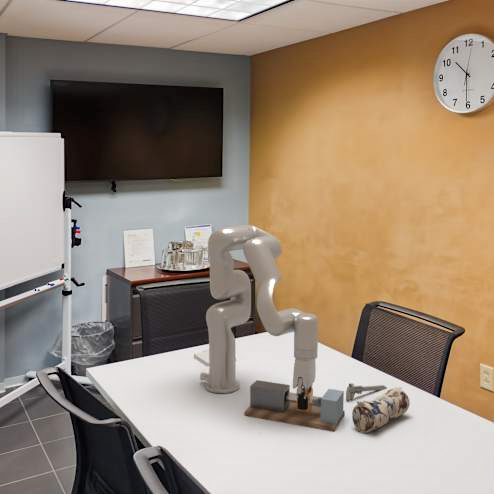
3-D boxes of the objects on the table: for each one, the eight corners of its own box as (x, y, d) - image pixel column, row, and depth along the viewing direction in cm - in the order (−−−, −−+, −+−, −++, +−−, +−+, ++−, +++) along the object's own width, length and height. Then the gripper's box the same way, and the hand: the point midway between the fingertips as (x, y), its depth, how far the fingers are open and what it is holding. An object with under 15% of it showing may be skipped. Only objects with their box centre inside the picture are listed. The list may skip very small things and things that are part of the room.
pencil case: (372, 437, 189) (373, 407, 187) (349, 429, 195) (350, 399, 193) (411, 416, 204) (412, 387, 202) (388, 408, 210) (389, 381, 208)
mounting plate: (239, 364, 254) (239, 359, 254) (210, 369, 248) (210, 364, 248) (218, 351, 270) (218, 347, 269) (191, 356, 263) (191, 352, 263)
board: (244, 415, 204) (244, 411, 204) (259, 401, 216) (259, 396, 215) (334, 431, 192) (334, 426, 192) (344, 415, 204) (344, 410, 204)
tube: (265, 404, 205) (265, 387, 204) (269, 399, 209) (269, 382, 208) (319, 413, 198) (319, 395, 197) (323, 408, 202) (323, 390, 201)
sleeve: (250, 407, 207) (250, 386, 206) (256, 400, 212) (256, 380, 211) (283, 413, 202) (283, 391, 201) (289, 406, 208) (289, 385, 206)
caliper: (348, 402, 215) (348, 385, 214) (345, 401, 216) (346, 384, 215) (387, 388, 228) (387, 372, 227) (384, 387, 229) (385, 371, 228)
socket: (320, 421, 196) (320, 398, 195) (328, 410, 204) (328, 388, 203) (336, 424, 194) (336, 401, 193) (343, 413, 202) (343, 391, 201)
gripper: (302, 343, 209) (301, 395, 211) (285, 358, 193) (285, 414, 196) (324, 346, 206) (323, 398, 209) (309, 361, 190) (308, 418, 193)
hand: (304, 405), depth 202 cm, fingers closed on tube, 4 cm apart
